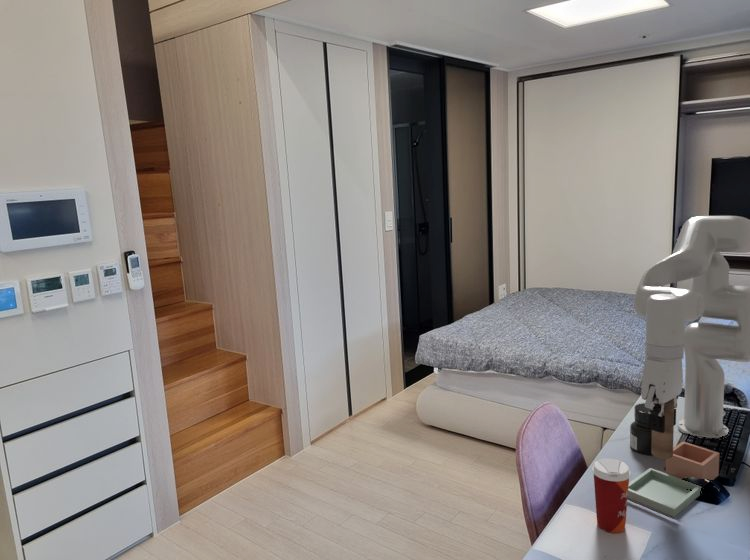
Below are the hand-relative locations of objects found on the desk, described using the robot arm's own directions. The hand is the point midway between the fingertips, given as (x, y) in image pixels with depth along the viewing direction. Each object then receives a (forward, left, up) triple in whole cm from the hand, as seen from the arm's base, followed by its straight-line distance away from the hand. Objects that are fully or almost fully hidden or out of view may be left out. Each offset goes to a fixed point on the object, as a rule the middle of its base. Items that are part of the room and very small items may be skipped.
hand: (662, 426), depth 129 cm
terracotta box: (-13, +1, -18) cm, 22 cm away
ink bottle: (-19, -13, -18) cm, 29 cm away
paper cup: (+18, -2, -18) cm, 25 cm away
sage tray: (0, 0, -18) cm, 18 cm away
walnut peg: (0, 0, -7) cm, 7 cm away
